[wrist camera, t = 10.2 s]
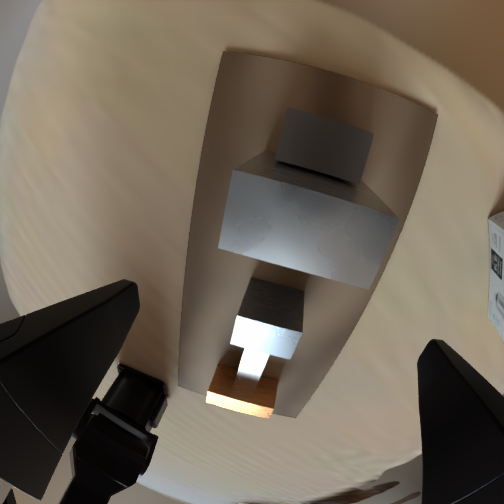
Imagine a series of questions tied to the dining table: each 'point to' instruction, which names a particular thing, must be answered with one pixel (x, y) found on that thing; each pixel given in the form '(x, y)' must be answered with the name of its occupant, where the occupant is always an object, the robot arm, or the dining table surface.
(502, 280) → the light bulb box
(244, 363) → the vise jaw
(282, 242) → the steel slab
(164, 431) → the dining table surface
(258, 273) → the base
